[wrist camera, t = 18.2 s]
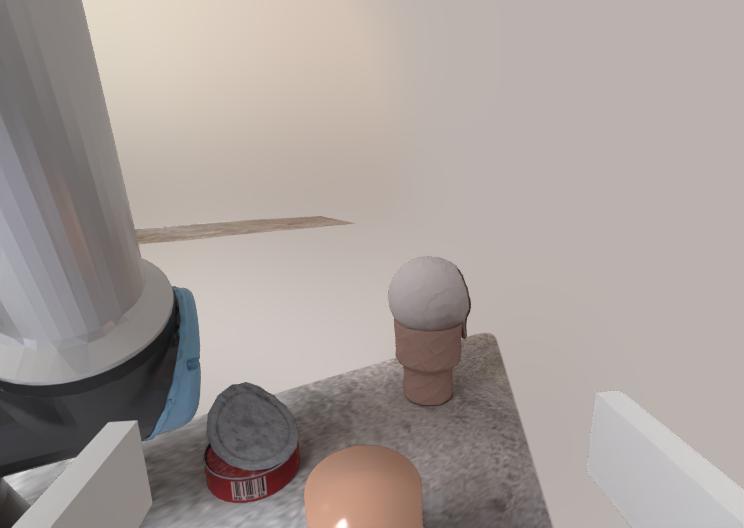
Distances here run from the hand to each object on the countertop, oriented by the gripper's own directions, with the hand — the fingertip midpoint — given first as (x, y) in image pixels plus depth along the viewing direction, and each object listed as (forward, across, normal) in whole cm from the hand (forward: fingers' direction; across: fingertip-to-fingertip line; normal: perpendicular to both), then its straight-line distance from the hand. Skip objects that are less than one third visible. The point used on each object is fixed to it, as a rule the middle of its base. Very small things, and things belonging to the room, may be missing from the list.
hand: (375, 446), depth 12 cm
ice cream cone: (+41, +10, -24) cm, 48 cm away
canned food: (+28, -12, -24) cm, 39 cm away
